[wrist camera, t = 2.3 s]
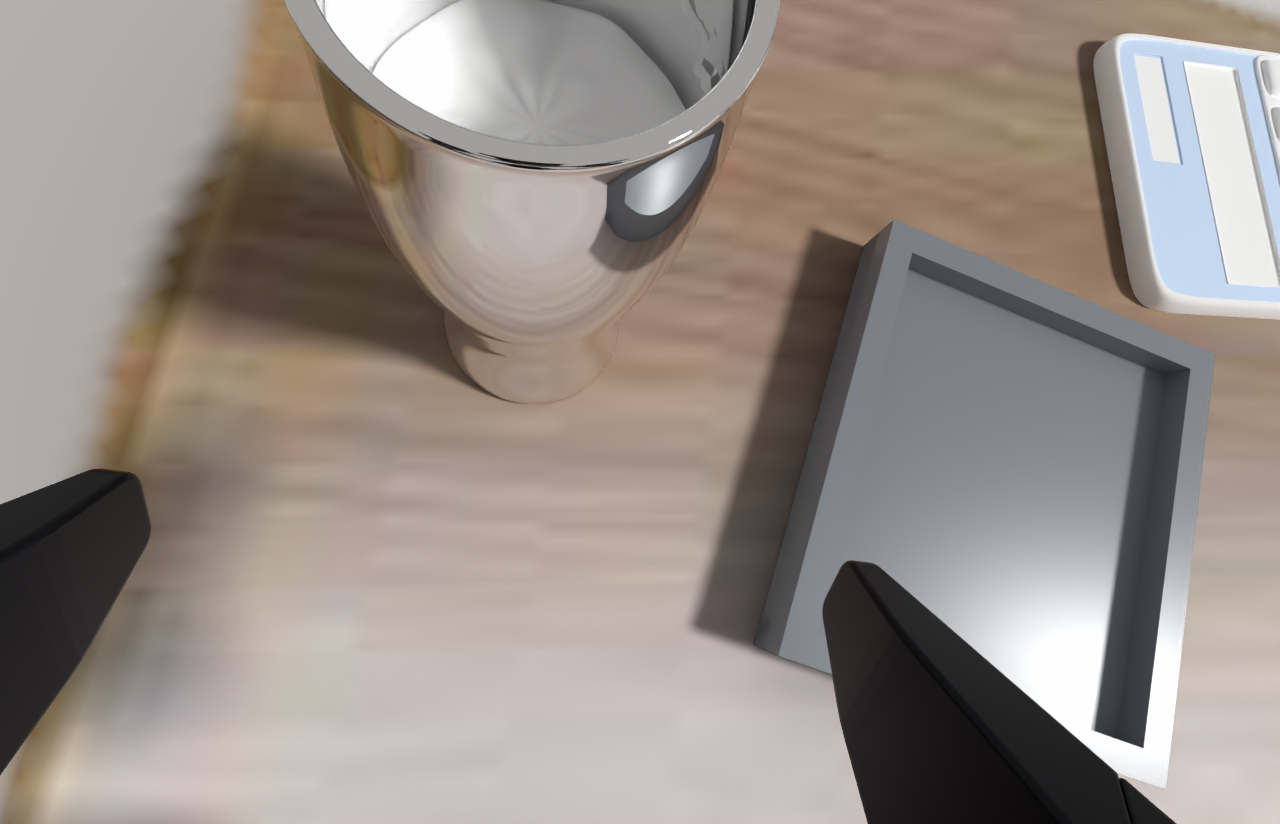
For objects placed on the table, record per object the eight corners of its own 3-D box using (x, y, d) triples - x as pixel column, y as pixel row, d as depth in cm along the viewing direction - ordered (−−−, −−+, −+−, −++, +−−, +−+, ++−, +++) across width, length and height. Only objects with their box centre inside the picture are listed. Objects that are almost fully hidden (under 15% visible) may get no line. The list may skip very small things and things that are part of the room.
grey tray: (1106, 766, 23) (1165, 789, 21) (754, 644, 22) (778, 655, 20) (1161, 369, 27) (1215, 355, 25) (863, 245, 26) (893, 219, 23)
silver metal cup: (558, 199, 24) (604, -335, 9) (667, 349, 23) (894, 36, 9) (392, 293, 22) (127, -184, 7) (506, 456, 22) (458, 288, 7)
